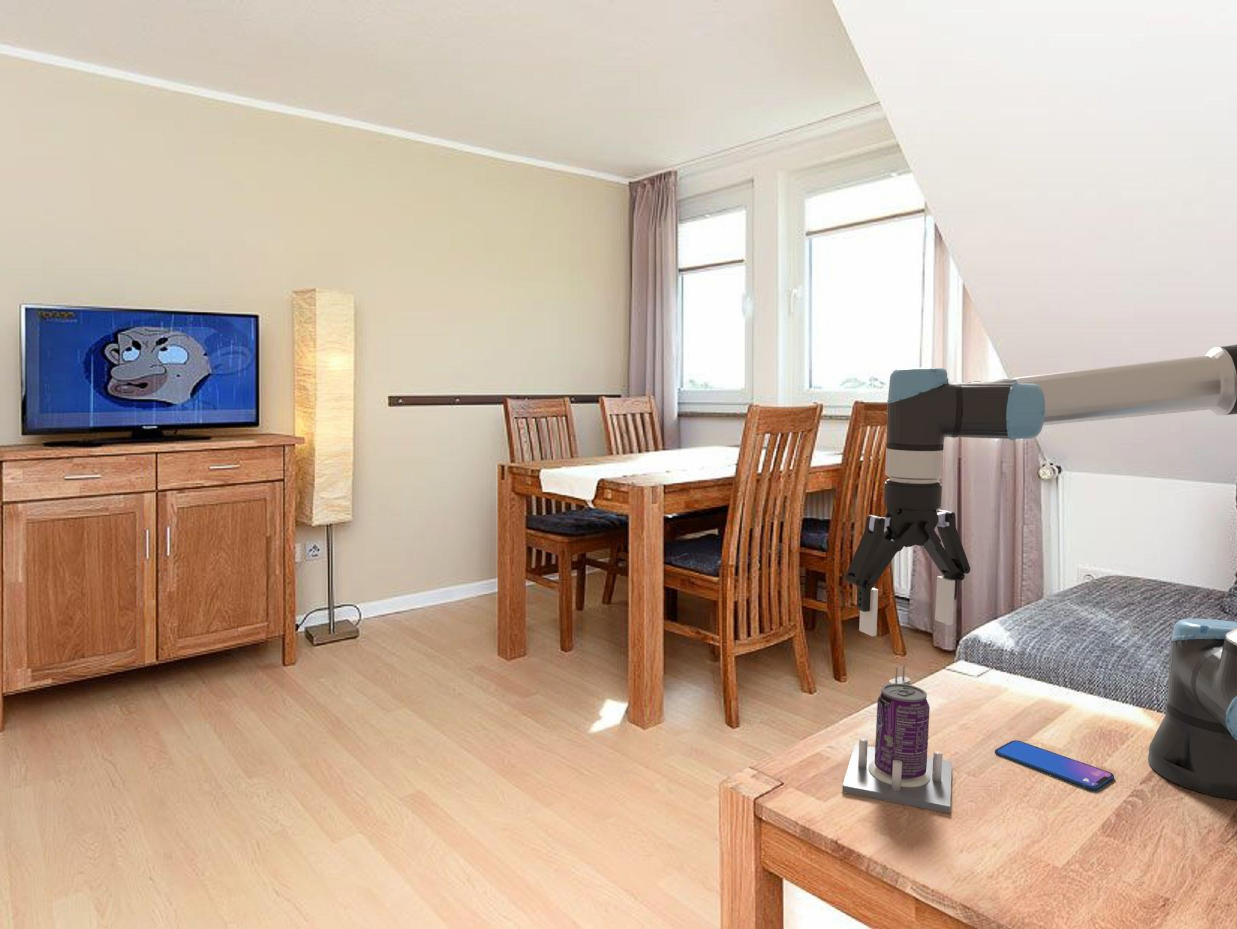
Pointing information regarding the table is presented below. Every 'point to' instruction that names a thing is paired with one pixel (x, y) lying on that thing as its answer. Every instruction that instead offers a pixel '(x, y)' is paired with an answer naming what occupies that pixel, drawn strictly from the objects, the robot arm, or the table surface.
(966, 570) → the robot arm
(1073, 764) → the smartphone
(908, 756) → the beverage can
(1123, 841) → the table surface
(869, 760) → the grey peg holder stand
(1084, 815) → the table surface
